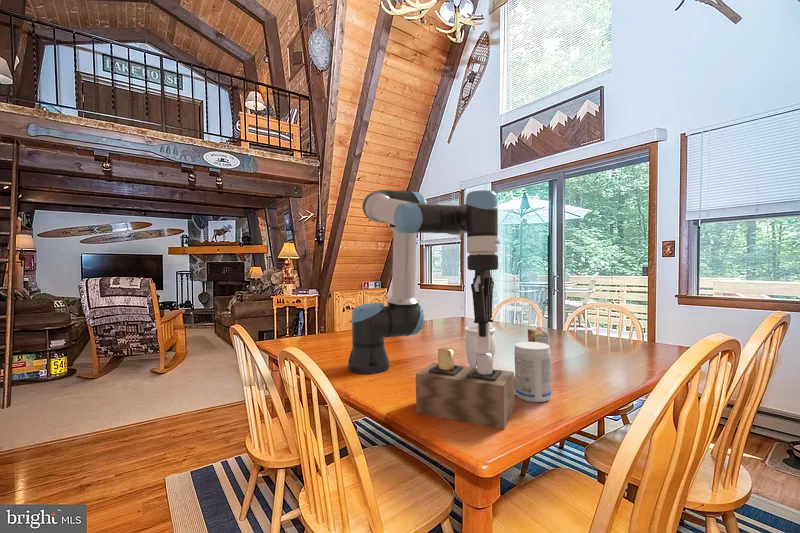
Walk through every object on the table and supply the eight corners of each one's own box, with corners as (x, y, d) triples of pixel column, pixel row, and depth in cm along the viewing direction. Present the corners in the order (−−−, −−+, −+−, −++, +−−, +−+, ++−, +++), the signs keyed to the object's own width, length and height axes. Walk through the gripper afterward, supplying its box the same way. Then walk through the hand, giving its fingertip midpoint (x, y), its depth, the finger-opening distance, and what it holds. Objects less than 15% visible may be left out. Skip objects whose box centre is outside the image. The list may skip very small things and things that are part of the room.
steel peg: (474, 394, 92) (473, 354, 92) (478, 389, 96) (478, 350, 95) (490, 397, 90) (490, 355, 90) (494, 391, 94) (493, 352, 94)
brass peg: (436, 389, 97) (435, 350, 97) (442, 384, 100) (441, 347, 100) (451, 391, 95) (450, 351, 95) (456, 386, 98) (455, 348, 98)
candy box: (527, 372, 128) (527, 328, 128) (540, 372, 127) (540, 328, 127) (535, 381, 119) (535, 333, 119) (549, 381, 118) (548, 333, 118)
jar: (459, 369, 134) (459, 327, 133) (483, 365, 138) (482, 324, 138) (477, 377, 124) (477, 331, 124) (502, 372, 128) (501, 329, 128)
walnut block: (416, 413, 95) (415, 371, 95) (434, 397, 106) (433, 360, 106) (504, 429, 85) (503, 383, 85) (514, 410, 96) (513, 369, 95)
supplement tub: (542, 390, 110) (541, 340, 110) (557, 402, 100) (557, 348, 100) (510, 392, 109) (509, 341, 109) (522, 404, 100) (521, 349, 100)
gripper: (491, 253, 85) (493, 356, 85) (503, 254, 97) (504, 345, 97) (459, 254, 88) (461, 353, 89) (475, 254, 100) (476, 342, 100)
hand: (484, 349), depth 93 cm, fingers closed
